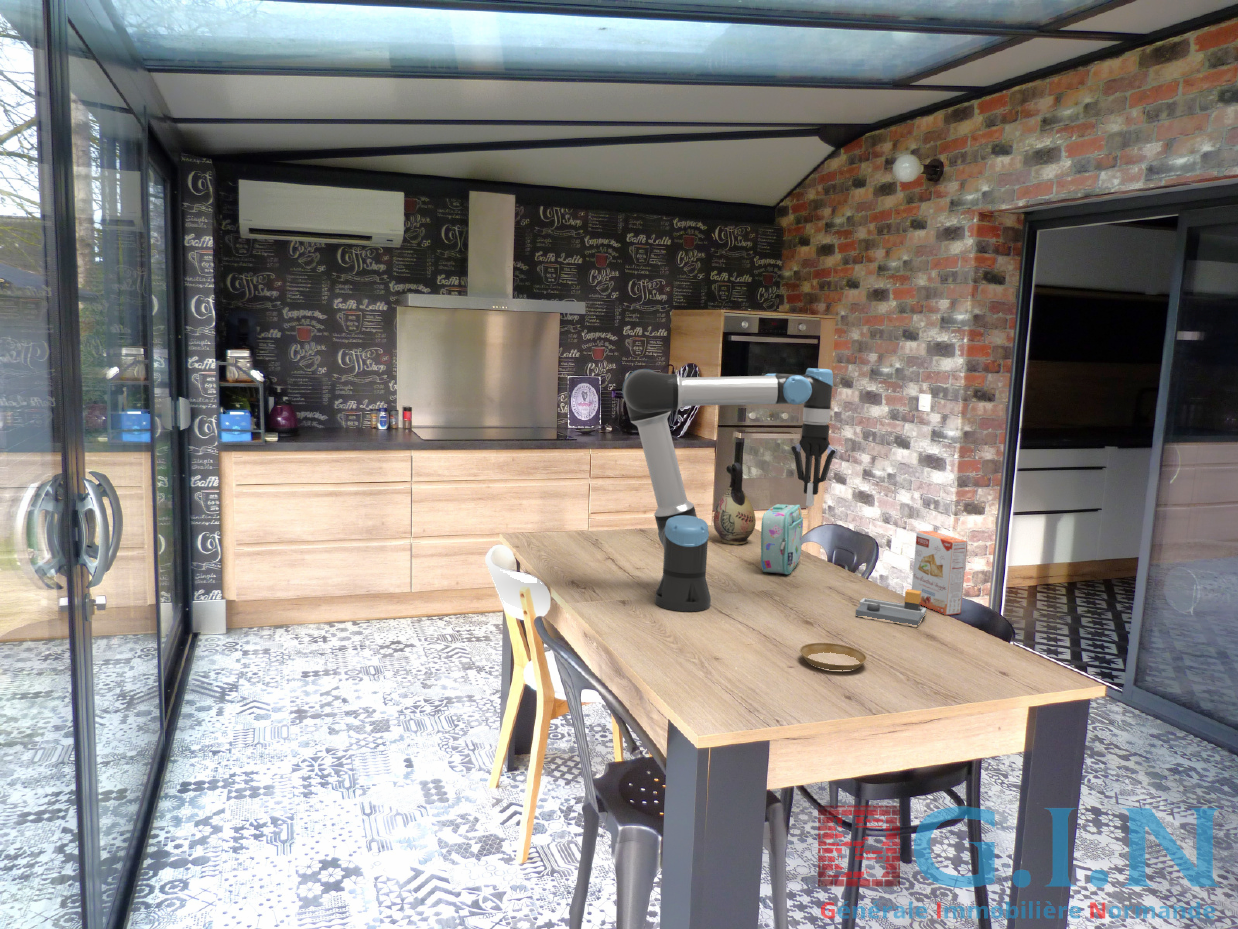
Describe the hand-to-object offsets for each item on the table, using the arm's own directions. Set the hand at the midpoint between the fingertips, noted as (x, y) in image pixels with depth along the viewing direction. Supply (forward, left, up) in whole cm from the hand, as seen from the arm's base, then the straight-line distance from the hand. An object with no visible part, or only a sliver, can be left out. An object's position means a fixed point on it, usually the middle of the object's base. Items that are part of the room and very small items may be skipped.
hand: (809, 505), depth 252 cm
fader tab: (-5, -31, -24) cm, 40 cm away
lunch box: (+27, +16, -27) cm, 41 cm away
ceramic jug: (+55, +42, -27) cm, 74 cm away
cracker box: (+10, -35, -27) cm, 45 cm away
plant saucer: (-53, -22, -27) cm, 63 cm away
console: (-6, -26, -26) cm, 38 cm away
